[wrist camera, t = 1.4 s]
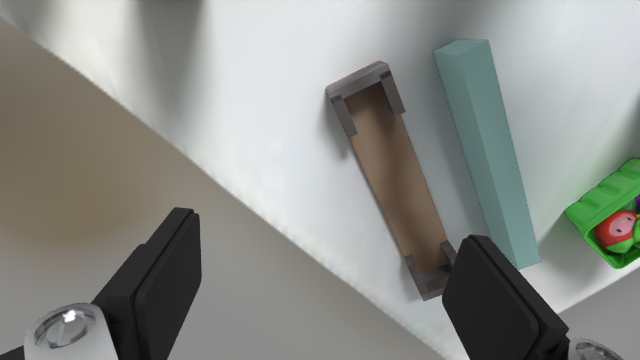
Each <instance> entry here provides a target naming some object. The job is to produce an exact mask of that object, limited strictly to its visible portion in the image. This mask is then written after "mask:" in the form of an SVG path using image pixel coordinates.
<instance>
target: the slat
mask: <svg viewBox="0 0 640 360" xmlns="http://www.w3.org/2000/svg"><path fill="white" fill-rule="evenodd" d="M433 54H434V57H435V61H436V64H437V67H438V70H439V74H440V77H441V80H442V83H443V86H444V90H445V93H446V96H447V99H448V103H449V106H450V109H451V112H452V116H453V119H454V122H455V125H456V128H457V132H458V135H459V138H460V141H461V145H462V148H463V151H464V154H465V157H466V161H467V164H468V167H469V170H470V174H471V177H472V180H473V183H474V186H475V190H476V193H477V196H478V199H479V203H480V206H481V209H482V212H483V216H484V219H485V222H486V225H487V228H488V232H489V235H490V238H491V240H492V241H493V242H494V243H495V244H496V245H497V246H498V248H499V249H500V250H501V251H502V252H503V253H504V254H505V255H506V257H507V258H508V259H509V260H510V261H511V262H512V263H513V264H514V266H515V267H516V268H517V269H518V270H520V269H523V268H525V267H528V266H531V265H534V264H536V263H539V262H541V260H540V256H539V251H538V247H537V243H536V239H535V235H534V230H533V226H532V222H531V218H530V214H529V209H528V205H527V201H526V197H525V193H524V188H523V184H522V180H521V176H520V171H519V167H518V163H517V159H516V155H515V150H514V146H513V142H512V138H511V134H510V129H509V125H508V121H507V117H506V113H505V108H504V104H503V100H502V96H501V91H500V87H499V83H498V79H497V75H496V70H495V66H494V62H493V58H492V54H491V49H490V45H489V41H488V40H458V39H457V40H455V41H453V42H451V43H449V44H447V45H445V46H443V47H441V48H439V49H437V50H435V51H433Z"/></svg>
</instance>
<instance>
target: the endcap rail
mask: <svg viewBox="0 0 640 360" xmlns="http://www.w3.org/2000/svg"><path fill="white" fill-rule="evenodd" d="M326 89H327V93H328V95H329V97H330V99H331V102H332V104H333V106H334V108H335V110H336V112H337V115H338V117H339V119H340V121H341V123H342V125H343V128H344V130H345V132H346V134H347V136H348V138H349V139H350V141H351V143H352V145H353V148H354V150H355V152H356V154H357V156H358V158H359V161H360V163H361V165H362V167H363V169H364V171H365V174H366V176H367V178H368V180H369V182H370V185H371V187H372V189H373V191H374V193H375V195H376V198H377V200H378V202H379V204H380V206H381V208H382V211H383V213H384V215H385V217H386V219H387V221H388V224H389V226H390V228H391V230H392V232H393V234H394V237H395V239H396V241H397V243H398V245H399V247H400V250H401V252H402V254H403V256H404V258H405V261H406V263H407V265H408V268H409V270H410V273H411V275H412V277H413V279H414V281H415V284H416V286H417V288H418V290H419V292H420V294H421V297H422V299H423V301H426V300H429V299H432V298H434V297H437V296H440V295H443V292H444V289H445V286H446V284H447V281H448V278H449V275H450V273H451V270H452V267H453V265H454V262H455V259H456V256H457V253H456V252H455V250H454V249H453V247H452V246H451V244H450V243H449V241H448V240H447V237H446V234H445V232H444V229H443V226H442V224H441V221H440V218H439V216H438V213H437V210H436V208H435V205H434V203H433V200H432V197H431V195H430V192H429V189H428V187H427V184H426V181H425V179H424V176H423V173H422V171H421V168H420V165H419V163H418V160H417V157H416V155H415V152H414V150H413V147H412V144H411V142H410V139H409V136H408V134H407V131H406V128H405V126H404V123H403V120H402V118H401V115H400V114H402V113H404V112H405V109H404V107H403V104H402V101H401V98H400V96H399V93H398V90H397V88H396V85H395V82H394V79H393V77H392V74H391V71H390V69H389V66H388V64H387V63H384V62H381V61H377V62H375V63H373V64H371V65H369V66H367V67H365V68H363V69H361V70H359V71H357V72H355V73H353V74H351V75H349V76H347V77H345V78H343V79H341V80H339V81H337V82H335V83H333V84H331V85H329V86H327V87H326Z"/></svg>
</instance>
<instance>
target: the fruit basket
mask: <svg viewBox="0 0 640 360" xmlns="http://www.w3.org/2000/svg"><path fill="white" fill-rule="evenodd" d="M565 214H566V215H567V216H568V218H569V219H570V220H571V221H572V222H573V224H574V225H575V226H576V227H577V229H578V230H579V231H580V234H581V236H582V237H583V238H584V239H585V241H586V242H588V243H589V244H590V245H591V246H592V247H593V248H594V249H595V250H596V251H597V252H598V253H599V254H600V255H601V256H602V257H603V258H604V259H605V260H606V261H607V262H608V263H609V264H610V265H611V266H612V267H613V268H615V269H621V268H624V267H625V266H627V265H628V264H630V263H631V262H633V261H634V260H636V259H637V258H639V257H640V159H638V158H632V159H630V160H629V161H628V162H626V163H625V164H624V165H623V166H621V167H620V169H619V170H618V171H616V172H614V173H612V174H611V175H610V176H608V177H607V178H606V179H605V180H603V181H602V182H601V183H600V184H599V186H598V187H595V188H593V189H592V190H590V191H589V192H588V193H587V194H585V195H584V196H583V197H582V198H581V199H580V201H578V202H576V203H574V204H573V205H571V206H570V207H569V208H567V209H566V210H565Z"/></svg>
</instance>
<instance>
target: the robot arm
mask: <svg viewBox="0 0 640 360" xmlns="http://www.w3.org/2000/svg"><path fill="white" fill-rule="evenodd" d="M200 247H201V246H200V220H199V215H198V214H197V213H194V210H193V209H189V208H177V207H175V208H174V209H173V210H172V211H171V212H170V214H169V215H168V216H167V217H166V219H165V220H164V221H163V222H162V224H161V225H160V226H159V227H158V229H157V230H156V231H155V232H154V234H153V235H152V236H151V237H150V239H149V240H148V241H147V242H146V244H141V245H139V246H138V247H137V248H136V249H135V250H134V251H133V253H132V254H131V255H130V256H129V257H128V259H127V260H126V261H125V262H124V263H123V265H122V266H121V267H120V268H119V270H118V271H117V272H116V273H115V274H114V276H113V277H112V278H111V280H110V281H109V282H108V283H107V284H106V285H105V286H104V288H103V289H102V290H101V291H100V293H99V294H98V295H97V296H96V297H95V299H94V300H93V301H92V302H91V303H90V304H88V303H77V304H71V305H67V306H63V307H60V308H58V309H56V310H54V311H51V312H49V313H48V314H46V315H45V316H43V317H41V318H40V319H39V320H38V321H36V322H35V323H34V324H33V325H32V326H31V327H30V329H29V330H28V332H27V333H26V335H25V339H24V345H23V346H21V347H18V348H16V349H14V350H11V351H9V352H7V353H5V354H2V355H0V360H167V358H168V356H169V354H170V351H171V349H172V347H173V345H174V343H175V340H176V338H177V336H178V333H179V331H180V329H181V327H182V325H183V322H184V320H185V317H186V316H187V313H188V311H189V309H190V306H191V304H192V302H193V300H194V298H195V295H196V293H197V291H198V289H199V286H200V283H201V276H202V273H201V248H200ZM442 302H443V306H444V308H445V310H446V312H447V314H448V316H449V318H450V320H451V322H452V324H453V326H454V328H455V330H456V332H457V334H458V336H459V338H460V340H461V342H462V344H463V346H464V348H465V350H466V352H467V354H468V356H469V358H470V360H624V359H622V358H621V357H620V356H619V355H618V354H616V353H615V352H614V351H612V350H610V349H609V348H607V347H605V346H604V345H602V344H600V343H598V342H595V341H593V340H590V339H586V338H574V339H572V340H569V339H568V338H567V337H566V333H567V332H568V330H569V328H568V327H567V326H566V324H565V323H564V322H563V321H562V320H561V319H560V318H559V316H558V315H557V314H556V313H555V312H554V311H553V310H552V308H551V307H550V306H549V305H548V304H547V303H546V302H545V301H544V299H543V298H542V297H541V296H540V295H539V294H538V293H537V292H536V290H535V289H534V288H533V287H532V286H531V285H530V284H529V282H528V281H527V280H526V279H525V278H524V277H523V276H522V275H521V273H520V272H519V271H518V270H517V269H516V268H515V267H514V265H513V264H512V263H511V262H510V261H509V260H508V259H507V258H506V256H505V255H504V254H503V253H502V252H501V251H500V250H499V248H498V247H497V246H496V245H495V244H494V243H493V242H492V241H491V239H490V238H489V237H487V236H479V235H469V236H468V237H467V238H465V239H463V241H462V243H461V246H460V248H459V251H458V254H457V256H456V259H455V262H454V265H453V267H452V270H451V273H450V275H449V278H448V281H447V284H446V286H445V289H444V292H443V295H442Z"/></svg>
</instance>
